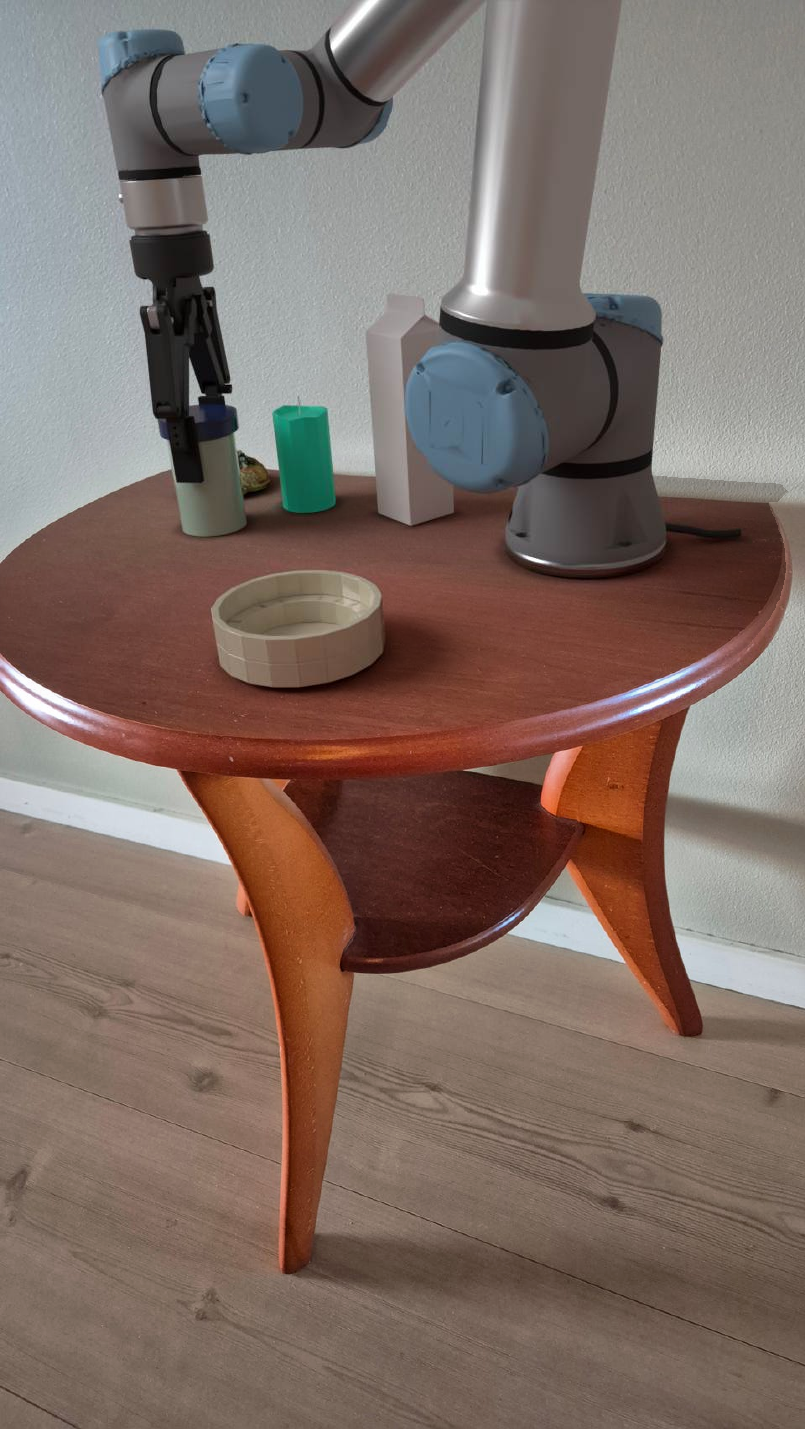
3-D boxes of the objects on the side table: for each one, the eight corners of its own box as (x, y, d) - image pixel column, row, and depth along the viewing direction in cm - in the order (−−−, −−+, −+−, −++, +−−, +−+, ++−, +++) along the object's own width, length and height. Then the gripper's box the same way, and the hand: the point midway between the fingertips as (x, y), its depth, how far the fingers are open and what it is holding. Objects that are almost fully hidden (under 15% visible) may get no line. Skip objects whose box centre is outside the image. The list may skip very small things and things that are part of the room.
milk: (410, 527, 104) (398, 302, 93) (377, 513, 108) (361, 297, 97) (455, 513, 107) (448, 293, 96) (421, 500, 111) (410, 289, 100)
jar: (258, 517, 109) (244, 411, 103) (225, 539, 104) (208, 429, 98) (204, 512, 112) (188, 409, 106) (169, 533, 106) (149, 425, 100)
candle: (272, 505, 112) (259, 397, 106) (314, 492, 116) (303, 387, 110) (304, 516, 108) (292, 405, 102) (346, 503, 112) (337, 394, 106)
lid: (250, 420, 105) (248, 403, 104) (224, 441, 98) (221, 423, 97) (177, 421, 107) (175, 404, 106) (147, 442, 100) (144, 424, 99)
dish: (410, 629, 82) (407, 578, 80) (340, 704, 72) (335, 649, 69) (271, 611, 87) (265, 563, 85) (187, 679, 76) (177, 626, 74)
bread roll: (223, 467, 126) (220, 429, 123) (290, 491, 121) (288, 451, 118) (158, 496, 118) (154, 456, 115) (227, 522, 114) (224, 481, 111)
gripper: (173, 223, 103) (207, 442, 114) (80, 243, 85) (131, 500, 96) (242, 220, 101) (269, 442, 113) (162, 239, 83) (203, 501, 95)
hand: (205, 469), depth 104 cm, fingers closed on lid, 8 cm apart
